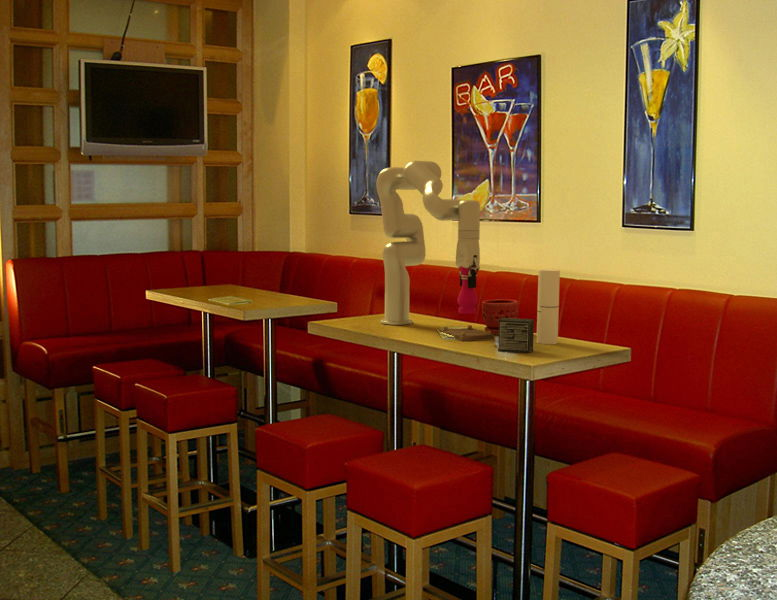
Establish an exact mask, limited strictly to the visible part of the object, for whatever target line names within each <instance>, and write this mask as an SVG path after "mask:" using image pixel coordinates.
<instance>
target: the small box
mask: <svg viewBox="0 0 777 600" xmlns="http://www.w3.org/2000/svg"><path fill="white" fill-rule="evenodd" d="M534 324H535V320H534V319H533V318H532V319H531V318H517V319H516V318H502V319H499V335H498V345H497V346H498V348H497V351H498V352H505V353H520V354H521V353H522V354H530V353H532V352H533V351H534V335H535V334H534V332H535V331H534V330H535V328H534V326H535V325H534Z"/></svg>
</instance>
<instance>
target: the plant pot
mask: <svg viewBox="0 0 777 600" xmlns="http://www.w3.org/2000/svg"><path fill="white" fill-rule="evenodd" d="M481 312H482V313H481V314H482V318H483V322H484V324H485V327H484V332H487V331H491V334H494V335H495V336H499V319H502V318H516V319H518V315H519V302H518V300H515V299H501V298H500V299H487V300H482V302H481ZM502 313H503V314H502Z"/></svg>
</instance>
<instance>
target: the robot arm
mask: <svg viewBox="0 0 777 600" xmlns="http://www.w3.org/2000/svg"><path fill="white" fill-rule="evenodd" d="M441 178H442V170H441V167H440V165H439V164H438V163H437V162H435V161H433V160H413V161H409V162H407V164H406V166H405V167H402V166H400V167H398V166H395V167H394V166H393V167H392V166H391V167H386V168H384V169H381V171H380V172H379V173H378V176H377V179H376V185H375V186H376V192H377V195H378V199H379V202H380V208H381V209H380V210H381V217H382V226H383V232H384V235H385V236H386V237H387V238H389V239H405V241H404V240H403V241H391V242H389V243H387V244H386V245H385V246H384V248H382V249H383V250H382V260H383V261H382V262H383V265H384V266H383V267H384V318H382V319H380V324H383V325H391V326H403V325H404V326H405V325H406V326H407V325H412V324H413V323H414V320H413V319H412V318H410V287H411V285H410V284H411V283H410V281H411V280H410V276H409V272H408V270H407V268H406V267H411V266H419V265H422V264H423V262H424V261H425V258H426V243H425V242H426V241H425V233H424V226H423V223H422V220H421V218H420V217H419V216H418V215H416V214H415V213H405V211H404V210H405V209H404V203H403V200H402V198H401V197H400V195H399V193H398V192H397V190H405V191H407V190H409V191H410V190H411V191H412V190H413V191H414V190H417V191H418V192H419V193H420V194H421V195H422V202H423V203H422V204H423V206H424V209H425V210H426V211H427V212H428V213H429V214H430V216H432V218H435V219H436V220H437V221H442V222H443V221H446V222H447V221H458V223H457V225H458V226H457V227H458V229H457V243H456V251H455V266H456V267H457V268H458V271H459V287H462V279H461V275H462V273H461V272H460V266H462V267H464V268H468V273H469V277H468V288H474V289H475V288H477V277H478V272H479V270H480V267H481V266H480V265H481V264H480V260H481V255H480V251H481V250H480V236H481V235H480V233H481V232H480V231H481V229H480V226H481V225H480V224H481V203H480V201H478V200H475V199H474V200H472V199H469V200H468V199H467V200H466V199H461V198H460V199H455V198H453V199H451V198H445V199H442V198H441V196H439V195H440V194H441V192H442V190H443V187H444V186H443V185H444V183H443V181H442V179H441ZM471 266H474V267H471ZM471 269H473V270H472V272H471Z"/></svg>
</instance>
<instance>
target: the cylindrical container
mask: <svg viewBox="0 0 777 600" xmlns="http://www.w3.org/2000/svg"><path fill="white" fill-rule="evenodd" d="M537 275H538V277H537V278H538V281H537V282H538V283H537V311H536V312H537V314H536V315H537V316H536V320H537V321H536V343H538V344H543V345H556V344H558V340H559V338H558V337H559V315H560V314H559V313H560V312H559V309H560V282H561V281H560V280H561V279H560V278H561V277H560V276H561V270H560V269H554V268H541V269H540V268H539V269H538V274H537Z"/></svg>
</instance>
